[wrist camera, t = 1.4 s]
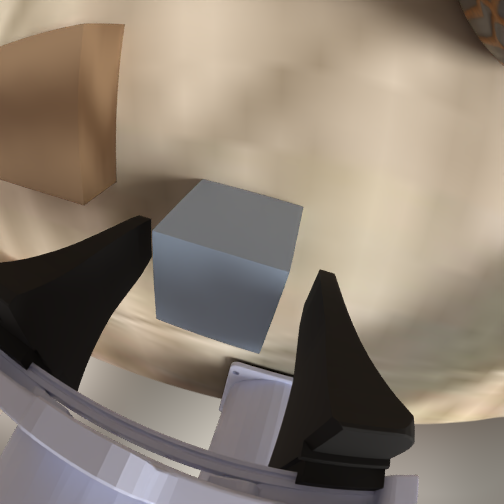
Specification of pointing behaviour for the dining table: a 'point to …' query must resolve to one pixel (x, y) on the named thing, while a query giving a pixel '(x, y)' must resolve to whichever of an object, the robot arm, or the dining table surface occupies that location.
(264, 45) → the dining table surface
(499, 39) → the vase
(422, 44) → the dining table surface
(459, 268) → the dining table surface
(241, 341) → the cube
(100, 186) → the base
